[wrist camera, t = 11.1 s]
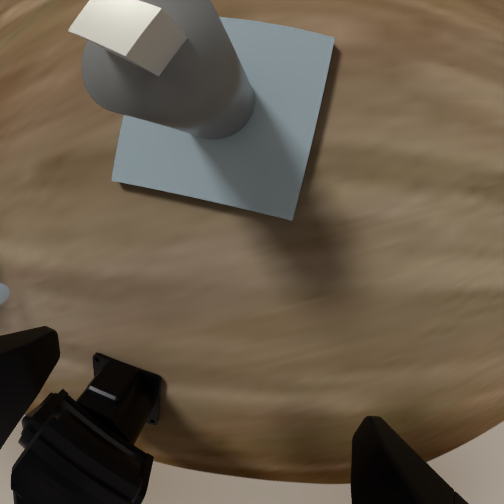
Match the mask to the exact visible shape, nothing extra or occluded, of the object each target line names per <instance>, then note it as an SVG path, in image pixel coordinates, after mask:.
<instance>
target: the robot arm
mask: <svg viewBox="0 0 504 504" xmlns="http://www.w3.org/2000/svg"><path fill="white" fill-rule="evenodd" d="M59 357H60V348H59V340H58V334H57V332H56V331H55V330H54V329H52V328H49V327H47V326H42V327H38V328H34V329H29V330H25V331H20V332H16V333H11V334H6V335H2V336H0V449H1V448H2V446H3V445H4V443H5V441H6V440H7V438H8V437H9V435H10V434H11V433H12V431H13V430H14V428H15V427H16V425H17V424H18V422H19V421H20V419H21V418H22V416H23V415H24V414H25V412H26V411H27V410H28V408H29V407H30V405H31V404H32V403H33V401H34V400H35V398H36V397H37V395H38V394H39V392H40V391H41V389H42V387H43V385H44V384H45V382H46V380H47V378H48V377H49V375H50V373H51V372H52V370H53V368H54V367H55V365H56V363H57V362H58V360H59ZM93 369H94V378H93V380H92V381H91V382H90V383H89V385H88V386H87V388H86V389H85V391H84V392H83V393H82V394H81V396H80V397H79V398H78V399H77V401H75V400H74V399H72V398H71V397H70V396H69V395H68V393H67V392H66V391H65V390H64V389H62V390H61V391H60V392H59V393H58V394H57V393H55V394H54V393H50V394H49V395H48V396H47V397H46V399H45V400H44V401H43V402H42V403H41V404H40V405H39V406H37V407H36V408H35V409H33V410H32V411H31V412H30V413H28V414H27V415H26V416H25V417H24V418H23V419H22V427H23V431H22V433H21V435H22V436H21V438H20V440H19V444H20V445H21V446H22V447H23V448H25V450H24V451H23V452H22V454H21V455H20V457H19V458H18V460H17V461H16V463H15V464H14V466H13V467H12V474H11V489H12V490H13V494H14V504H141V503H142V501H143V499H144V497H145V494H146V491H147V487H148V482H149V477H150V472H151V468H152V463H153V459H154V457H153V456H152V455H150V454H148V453H145V452H143V451H142V450H140V449H139V448H137V447H136V446H134V444H135V442H136V440H137V438H138V436H139V434H140V432H141V430H142V428H143V426H144V424H145V422H147V423H150V424H153V425H156V424H157V423H158V421H159V407H160V392H161V378H160V377H159V376H158V375H156V374H153V373H151V372H148V371H145V370H142V369H139V368H136V367H134V366H131V365H128V364H126V363H123V362H120V361H118V360H115V359H113V358H110V357H108V356H105V355H103V354H100V353H95V354H94V355H93ZM154 379H155V380H156V381H155V380H154ZM351 498H352V504H468V503H467V502H466V501H465V500H464V499H463V498H462V497H461V496H460V495H459V494H458V493H456V492H454V490H453V488H451V487H450V486H449V485H448V484H447V483H446V482H445V481H444V480H443V479H442V478H441V477H440V476H439V475H438V474H437V473H436V472H435V471H434V470H433V469H432V468H431V467H430V466H429V465H428V464H427V463H426V462H425V461H424V460H423V459H422V458H421V457H420V456H419V455H418V454H417V453H416V452H415V451H414V450H413V449H412V448H411V447H410V446H409V445H408V444H407V443H406V442H405V441H404V440H403V439H402V438H401V437H400V436H399V435H398V434H397V433H396V432H395V431H394V430H393V429H392V428H391V427H390V426H389V425H388V424H387V423H386V422H385V421H384V420H383V419H382V418H381V417H379V416H367V417H365V418H364V420H363V421H362V423H361V424H360V426H359V427H358V429H357V430H356V432H355V433H354V436H353V439H352V464H351Z"/></svg>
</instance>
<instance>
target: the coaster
mask: <svg viewBox="0 0 504 504" xmlns="http://www.w3.org/2000/svg"><path fill="white" fill-rule="evenodd" d="M219 18H220V20H221V22H222V24H223V26H224V28H225V30H226V32H227V34H228V36H229V39H230V41H231V43H232V45H233V47H234V49H235V51H236V54H237V56H238V58H239V60H240V62H241V64H242V67H243V69H244V71H245V73H246V76H247V78H248V80H249V82H250V85H251V87H252V89H253V93H254V98H255V104H254V110H253V113H252V115H251V117H250V119H249V121H248V122H247V124H246V125H245V126H244V127H243V128H242V129H241V130H239V131H238V132H237V133H235V134H233V135H231V136H229V137H226V138H222V139H206V138H202V137H199V136H196V135H193V134H190V133H186V132H183V131H180V130H177V129H173V128H170V127H167V126H163V125H160V124H156V123H153V122H149V121H146V120H142V119H138V118H135V117H131V116H127V115H124V117H123V121H122V126H121V131H120V135H119V140H118V145H117V151H116V156H115V162H114V168H113V174H112V181H116V182H121V183H126V184H131V185H136V186H141V187H146V188H151V189H156V190H161V191H166V192H170V193H175V194H180V195H184V196H189V197H194V198H198V199H203V200H207V201H212V202H216V203H220V204H225V205H229V206H233V207H238V208H242V209H246V210H250V211H254V212H259V213H263V214H267V215H271V216H275V217H279V218H283V219H287V220H291V221H293V217H294V213H295V209H296V205H297V201H298V197H299V193H300V189H301V185H302V181H303V177H304V173H305V169H306V165H307V161H308V157H309V152H310V148H311V144H312V140H313V136H314V131H315V127H316V123H317V118H318V114H319V110H320V105H321V101H322V96H323V92H324V87H325V83H326V78H327V73H328V69H329V64H330V59H331V55H332V50H333V45H334V40H335V38H334V37H330V36H326V35H323V34H319V33H315V32H310V31H306V30H302V29H297V28H292V27H287V26H282V25H277V24H271V23H265V22H258V21H251V20H243V19H234V18H224V17H219Z"/></svg>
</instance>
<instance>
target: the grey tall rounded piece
mask: <svg viewBox="0 0 504 504" xmlns="http://www.w3.org/2000/svg"><path fill="white" fill-rule="evenodd" d="M68 31H70V32H72V33H74V34H76V35H78V36H80V37H82V38H84V39H86V40H87V43H86V45H85V48H84V52H83V57H82V78H83V82H84V85H85V87H86V90H87V92H88V93H89V95H90V96H91V98H92V99H93V100H94V101H95V102H96V103H97V104H99V105H100V106H101V107H103V108H105V109H107V110H109V111H112V112H115V113H119V114H123V115H127V116H131V117H135V118H138V119H142V120H146V121H149V122H153V123H156V124H160V125H163V126H167V127H170V128H173V129H177V130H180V131H183V132H186V133H190V134H193V135H196V136H199V137H202V138H206V139H222V138H226V137H229V136H231V135H233V134H235V133H237V132H238V131H239V130H241V129H242V128H243V127H244V126H245V125H246V124H247V122H248V121H249V119H250V117H251V115H252V113H253V110H254V104H255V98H254V93H253V89H252V87H251V85H250V82H249V80H248V78H247V76H246V73H245V71H244V69H243V67H242V64H241V62H240V60H239V58H238V56H237V54H236V51H235V49H234V47H233V45H232V43H231V41H230V39H229V36H228V34H227V32H226V30H225V28H224V26H223V24H222V22H221V20H220V18H219V16H218V14H217V12H216V10H215V8H214V6H213V4H212V3H211V2H210V0H89V2H88V3H87V4H86V6H85V7H84V8H83V10H82V11H81V13H80V14H79V15H78V17H77V18H76V20H75V21H74V22H73V24H72V25H71V27H70V28H69V30H68Z"/></svg>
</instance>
